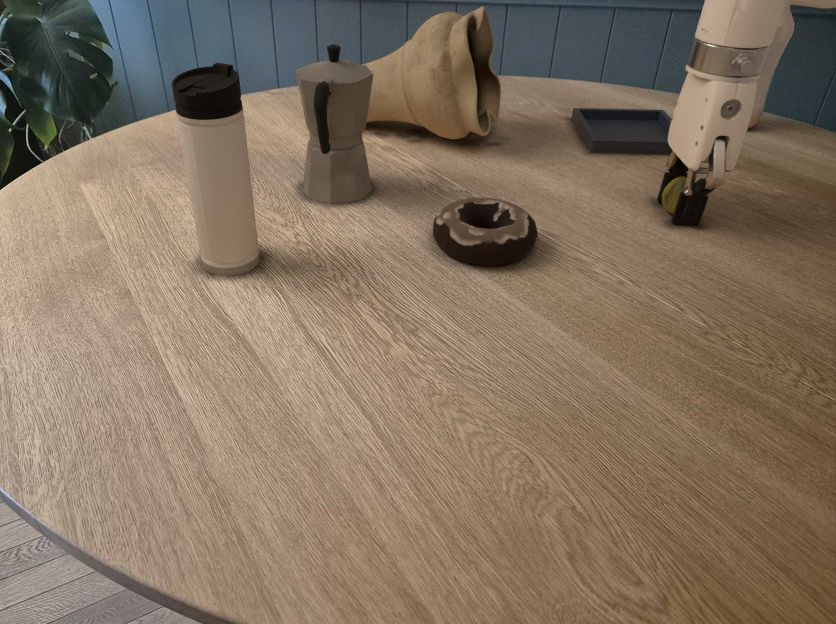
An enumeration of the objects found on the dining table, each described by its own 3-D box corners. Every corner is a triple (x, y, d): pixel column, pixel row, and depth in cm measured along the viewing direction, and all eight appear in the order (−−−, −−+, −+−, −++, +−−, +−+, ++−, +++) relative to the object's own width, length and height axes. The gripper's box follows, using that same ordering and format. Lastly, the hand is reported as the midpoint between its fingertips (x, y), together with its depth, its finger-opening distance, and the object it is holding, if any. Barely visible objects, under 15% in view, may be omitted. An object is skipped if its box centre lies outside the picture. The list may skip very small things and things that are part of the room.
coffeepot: (313, 168, 93) (306, 29, 82) (379, 172, 92) (381, 33, 81) (286, 217, 81) (273, 63, 70) (361, 223, 80) (361, 67, 69)
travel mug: (272, 254, 74) (254, 67, 62) (239, 282, 69) (212, 86, 57) (225, 242, 76) (199, 59, 64) (190, 269, 71) (154, 76, 59)
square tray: (659, 122, 109) (663, 109, 108) (689, 156, 97) (694, 142, 96) (570, 120, 109) (573, 107, 108) (590, 154, 98) (593, 140, 97)
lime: (662, 204, 85) (673, 167, 82) (701, 214, 82) (714, 176, 79) (651, 217, 82) (663, 179, 79) (692, 228, 80) (705, 189, 76)
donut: (532, 278, 70) (538, 245, 68) (423, 264, 72) (425, 232, 70) (536, 228, 79) (542, 197, 77) (439, 217, 81) (441, 187, 79)
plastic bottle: (706, 119, 110) (749, -16, 98) (747, 120, 110) (795, -15, 98) (720, 133, 105) (768, -8, 93) (763, 134, 105) (817, -7, 93)
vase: (272, 52, 92) (466, 14, 81) (325, -4, 106) (496, -43, 95) (322, 186, 107) (493, 170, 95) (363, 121, 120) (516, 100, 109)
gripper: (799, 82, 64) (734, 247, 75) (730, 39, 77) (684, 185, 89) (721, 81, 64) (667, 246, 75) (666, 38, 78) (628, 183, 89)
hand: (677, 211), depth 82 cm, fingers closed on lime, 5 cm apart
